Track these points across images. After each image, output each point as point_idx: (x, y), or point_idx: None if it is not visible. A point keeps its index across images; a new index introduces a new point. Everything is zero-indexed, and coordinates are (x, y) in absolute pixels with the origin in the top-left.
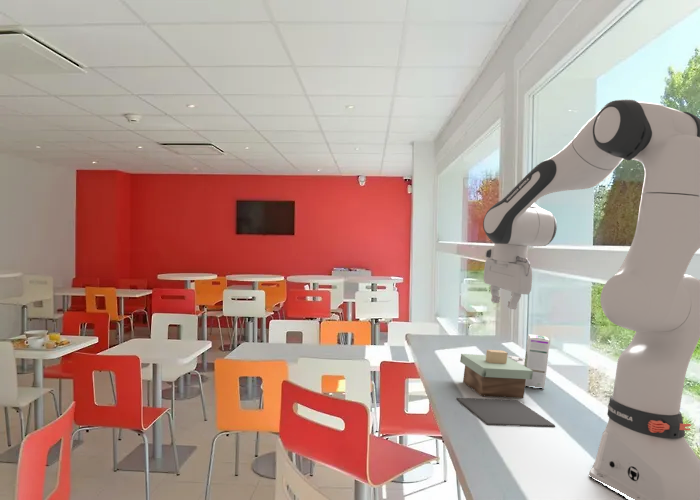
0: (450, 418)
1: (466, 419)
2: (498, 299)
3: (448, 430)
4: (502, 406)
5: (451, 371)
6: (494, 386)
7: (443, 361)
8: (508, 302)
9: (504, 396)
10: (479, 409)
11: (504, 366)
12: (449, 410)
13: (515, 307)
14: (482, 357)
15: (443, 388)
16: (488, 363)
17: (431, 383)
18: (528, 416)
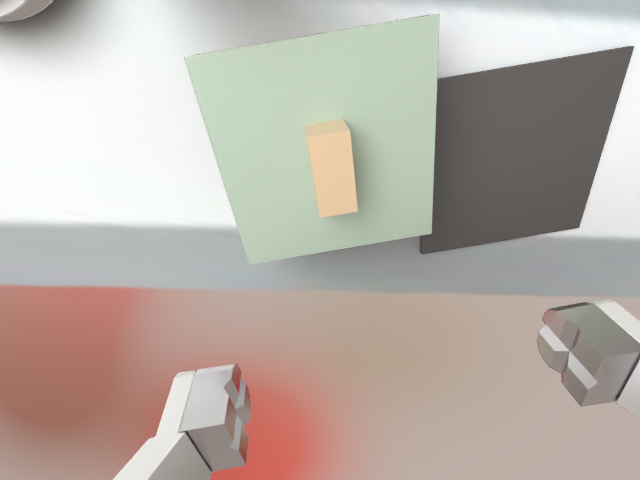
0: (531, 283)
1: (540, 257)
2: (230, 399)
3: (582, 295)
4: (482, 157)
5: (150, 214)
6: None
7: (16, 215)
8: (577, 395)
9: None
10: (501, 223)
11: (392, 144)
12: (490, 278)
13: (616, 314)
14: (270, 197)
15: (343, 265)
16: (363, 199)
17: (309, 285)
18: (559, 106)
